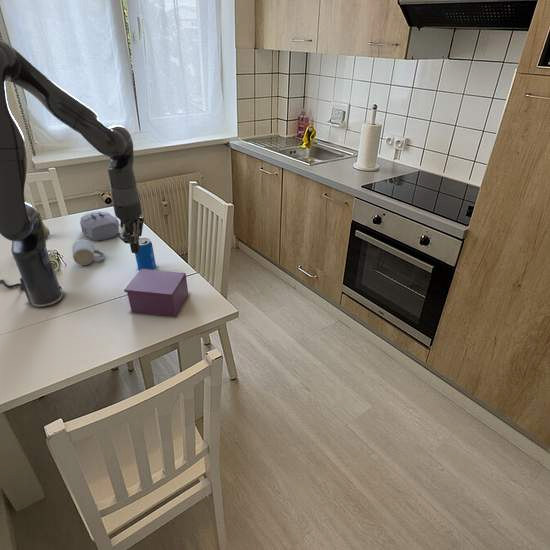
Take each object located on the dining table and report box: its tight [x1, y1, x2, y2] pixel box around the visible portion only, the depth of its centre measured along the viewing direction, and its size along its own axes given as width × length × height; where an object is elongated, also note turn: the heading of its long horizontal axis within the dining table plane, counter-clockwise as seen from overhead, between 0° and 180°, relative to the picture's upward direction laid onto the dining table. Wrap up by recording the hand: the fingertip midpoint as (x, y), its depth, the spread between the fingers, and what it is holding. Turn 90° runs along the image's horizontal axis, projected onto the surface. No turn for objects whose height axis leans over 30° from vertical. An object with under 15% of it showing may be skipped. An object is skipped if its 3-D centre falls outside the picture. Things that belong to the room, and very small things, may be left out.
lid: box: [123, 269, 187, 297], centre depth 125 cm, size 15×13×1 cm
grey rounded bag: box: [79, 210, 120, 241], centre depth 171 cm, size 15×8×20 cm
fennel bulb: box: [35, 209, 50, 238], centre depth 165 cm, size 6×5×12 cm
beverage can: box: [134, 237, 157, 272], centre depth 144 cm, size 6×6×12 cm
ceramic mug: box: [72, 239, 105, 266], centre depth 150 cm, size 11×8×8 cm
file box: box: [126, 274, 189, 318], centre depth 127 cm, size 15×13×8 cm
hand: (135, 252), depth 122 cm, fingers closed
